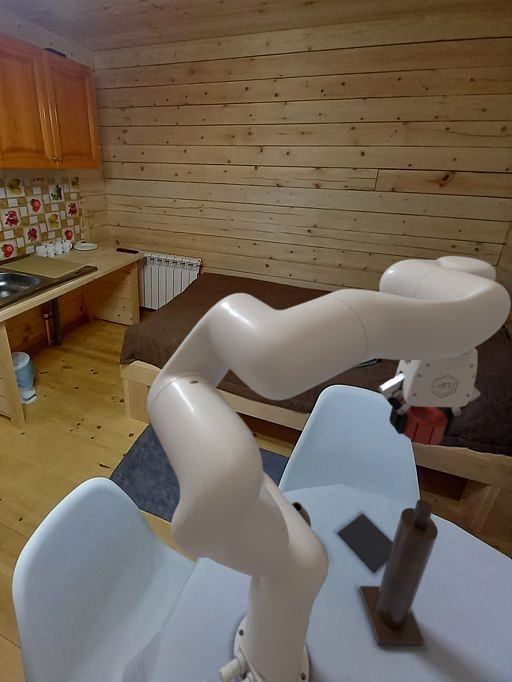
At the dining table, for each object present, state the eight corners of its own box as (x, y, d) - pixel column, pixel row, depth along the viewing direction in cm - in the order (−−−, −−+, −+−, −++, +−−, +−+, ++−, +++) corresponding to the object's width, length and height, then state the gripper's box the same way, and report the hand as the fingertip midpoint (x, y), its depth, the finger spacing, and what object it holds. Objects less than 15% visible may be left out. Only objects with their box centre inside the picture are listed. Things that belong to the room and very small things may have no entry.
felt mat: (372, 572, 71) (373, 571, 71) (337, 533, 78) (337, 532, 78) (398, 549, 75) (398, 547, 75) (362, 514, 83) (362, 513, 83)
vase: (301, 558, 73) (306, 529, 70) (272, 537, 77) (276, 509, 74) (313, 531, 78) (318, 504, 76) (285, 513, 82) (289, 486, 79)
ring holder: (377, 644, 60) (413, 530, 51) (358, 590, 68) (387, 482, 58) (422, 645, 60) (467, 532, 51) (398, 591, 68) (434, 483, 58)
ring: (427, 451, 54) (433, 434, 53) (387, 423, 60) (391, 406, 59) (450, 436, 57) (456, 418, 56) (409, 410, 63) (414, 394, 62)
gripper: (400, 348, 49) (377, 444, 55) (521, 350, 49) (485, 446, 55) (376, 324, 56) (358, 411, 62) (482, 326, 56) (454, 413, 62)
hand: (418, 427), depth 58 cm, fingers closed on ring, 7 cm apart
